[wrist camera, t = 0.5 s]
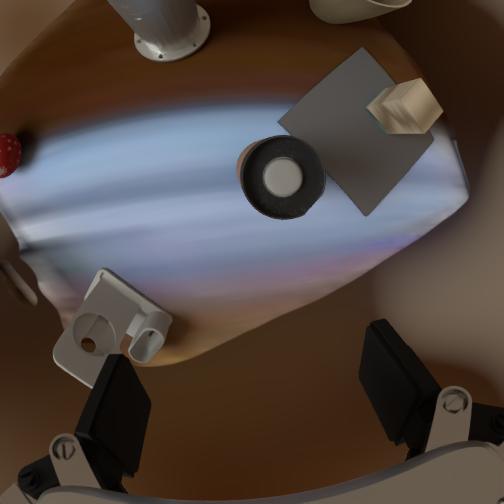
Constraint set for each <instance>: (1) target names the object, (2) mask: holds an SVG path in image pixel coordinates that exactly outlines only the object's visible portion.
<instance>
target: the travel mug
mask: <svg viewBox="0 0 504 504" xmlns="http://www.w3.org/2000/svg"><path fill="white" fill-rule="evenodd" d="M237 176H238V180H239V182H240V184H241V187H242V189H243V192H244V194H245V196H246V198H247V200H248V201H249V203H250V204H251V205H252V206H253V207H254V208H255V209H256V210H257V211H259V212H260V213H262V214H263V215H265V216H268V217H270V218H274V219H281V220H287V219H294V218H298V217H301V216H303V215H305V214H306V212H307V211H308V210H309V209H310V208H311V207H312V205H313V204H314V203H315V202H316V201H317V200H318V199H319V198H320V197H321V196H322V195H323V193H324V189H325V183H326V173H325V167H324V164H323V161H322V159H321V157H320V155H319V154H318V152H317V151H316V150H315V149H314V148H313V147H312V146H311V145H310V144H309V143H307V142H305V141H304V140H302V139H300V138H297V137H294V136H288V135H279V136H273V137H269V138H266V139H263V140H260V141H257V142H254V143H252V144H250V145H249V146H248V147H247V148H246V149H245V150H244V151H243V152H242V153H241V155H240V157H239V159H238V163H237Z"/></svg>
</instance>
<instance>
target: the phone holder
mask: <svg viewBox="0 0 504 504" xmlns="http://www.w3.org/2000/svg"><path fill="white" fill-rule="evenodd" d="M172 320H173V318H172V315H171V314H170V313H168V312H167V311H165V310H164V309H162V308H161V307H159V306H158V305H156V304H155V303H153V302H152V301H150V300H149V299H147V298H146V297H145V296H143V295H142V294H140V293H139V292H138V291H136V290H135V289H133V288H132V287H131V286H129V285H128V284H127V283H125V282H124V281H122V280H121V279H120V278H118V277H117V276H116V275H114V274H113V273H112V272H111V271H109V270H108V269H106V268H101V269H100V270H99V271H98V273H97V275H96V276H95V278H94V280H93V282H92V284H91V286H90V288H89V290H88V292H87V294H86V296H85V301H84V303H83V304H82V305H81V307H80V308H79V310H78V311H77V313H76V314H75V316H74V317H73V318H72V320H71V321H70V323H69V324H68V326H67V327H66V329H65V331H64V332H63V334H62V335H61V337H60V338H59V340H58V342H57V343H56V345H55V346H54V349H53V358H54V360H55V362H56V364H57V365H58V366H60V367H61V368H62V369H64V370H65V371H66V372H68V373H69V374H71V375H72V376H74V377H75V378H77V379H78V380H79V381H81V382H82V383H84V384H86V385H87V386H89V387H90V388H93V386H94V384H95V382H96V379H97V377H98V375H99V373H100V371H101V369H102V367H103V364H104V362H105V360H106V358H107V356H108V355H109V354H122V353H121V351H120V343H121V341H122V339H123V337H124V335H125V333H127V334H129V335H130V336H132V337H133V340H132V342H131V345H130V347H129V350H128V351H129V355H130V356H131V358H132V359H134V360H135V361H137V362H141V363H145V362H148V361H150V359H151V358H152V357H153V356H154V355H155V354H156V352H157V351H158V350H159V349H160V348H161V347H162V345H163V344H164V342H165V339H166V336H167V332H168V329H169V326H170V325H171V323H172ZM85 337H89V338H91V339H92V340H93V341H94V342H95V344H96V349H95V351H94V352H93V353H88V352H85V351H84V350H83V349H82V348H81V340H82V339H83V338H85Z"/></svg>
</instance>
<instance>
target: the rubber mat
mask: <svg viewBox="0 0 504 504" xmlns="http://www.w3.org/2000/svg"><path fill="white" fill-rule="evenodd" d="M394 85H396V84H395V83H394V82H393V80H392V79H391V78H390V77H389V75H388V74H387V73H386V72H385V71H384V70H383V68H382V67H381V66H380V65H379V64H378V63H377V62H376V61H375V59H374V58H373V57H372V56H371V55H370V54H369V53H368V52H367V51H366V50H365V49H364V48H363V47H361V48H360V49H359V50H358V51H356V52H355V53H354V54H353V55H351V56H350V57H349V58H348V59H347V60H345V61H344V62H343V63H342V64H341V65H339V66H338V67H337V68H336V69H335V70H333V71H332V72H331V73H330V74H329V75H328V76H327V77H325V78H324V79H323V80H322V81H321V82H320V83H319V84H317V85H316V86H315V87H314V88H313V89H312V90H311V91H310V92H309V93H307V94H306V95H305V96H304V97H303V98H302V99H301V100H300V101H299V102H298V103H297V104H296V105H294V106H293V107H292V108H291V109H290V110H289V111H288V112H287V113H286V114H285V115H284V116H283V117H282V118H281V119H280V120H279V121H278V123H279V124H280V125H281V126H282V127H283V128H284V129H285V130H286V131H287V132H288V133H289V134H290V135H291V136H294V137H297V138H300V139H302V140H304V141H305V142H307V143H309V144H310V145H311V146H312V147H313V148H314V149H315V150H316V151H317V152H318V154H319V155H320V157H321V159H322V161H323V164H324V167H325V171H326V172H327V173H328V174H329V175H330V176H331V177H332V178H333V180H334V181H335V182H336V183H337V184H338V185H339V186H340V187H341V189H342V190H343V191H344V192H345V193H346V194H347V195H348V197H349V198H350V199H351V200H352V201H353V203H354V204H355V205H356V206H357V207H358V209H359V210H360V211H361V212H362V213H363V215H364V216H367V215H368V214H369V213H370V212H371V211H372V210H373V209H374V208H375V207H376V206H377V205H378V204H379V202H380V201H381V200H382V199H383V198H384V197H385V196H386V195H387V194H388V193H389V191H390V190H391V189H392V188H393V187H394V186H395V185H396V184H397V183H398V181H399V180H400V179H401V178H402V177H403V176H404V175H405V174H406V172H407V171H408V170H409V169H410V168H411V167H412V166H413V164H414V163H415V162H416V161H417V160H418V159H419V157H420V156H421V155H422V154H423V153H424V151H425V150H426V149H427V148H428V147H429V145H430V144H431V143H432V142H433V141H434V138H433V136H432V135H431V133H430V132H429V130H427V131H426V132H425V134H385V132H384V131H383V130H382V129H381V127H380V126H379V125H378V124H377V122H376V121H375V120H374V119H373V117H372V116H371V115H370V114H369V113H368V111H367V110H366V109H365V108H364V107H365V106H366V105H367V104H368V103H370V102H371V101H372V100H373V99H374V98H375V97H376V96H377V95H378V94H379V93H380V92H381V91H382V90H383V89H385V88H388V87H391V86H394Z"/></svg>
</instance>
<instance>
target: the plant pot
mask: <svg viewBox="0 0 504 504" xmlns="http://www.w3.org/2000/svg"><path fill="white" fill-rule="evenodd" d="M411 1H412V0H309V3H310V8H311V10H312V12H313V13H314V14H315V15H316V16H317V17H318V18H319V19H321V20H323V21H325V22H327V23H331V24H344V23H351V22H356V21H361V20H365V19H369V18H373V17H376V16H379V15H382V14H385V13H388V12H391V11H394V10H396V9H399V8H401V7H404V6H406V5H408V4H409V3H411Z"/></svg>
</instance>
